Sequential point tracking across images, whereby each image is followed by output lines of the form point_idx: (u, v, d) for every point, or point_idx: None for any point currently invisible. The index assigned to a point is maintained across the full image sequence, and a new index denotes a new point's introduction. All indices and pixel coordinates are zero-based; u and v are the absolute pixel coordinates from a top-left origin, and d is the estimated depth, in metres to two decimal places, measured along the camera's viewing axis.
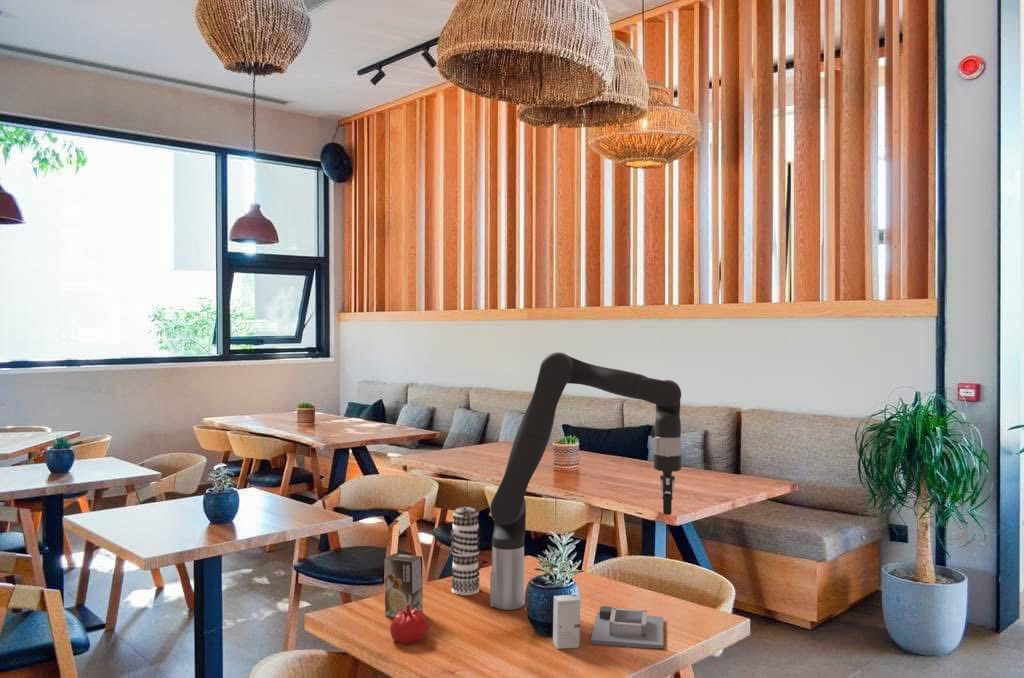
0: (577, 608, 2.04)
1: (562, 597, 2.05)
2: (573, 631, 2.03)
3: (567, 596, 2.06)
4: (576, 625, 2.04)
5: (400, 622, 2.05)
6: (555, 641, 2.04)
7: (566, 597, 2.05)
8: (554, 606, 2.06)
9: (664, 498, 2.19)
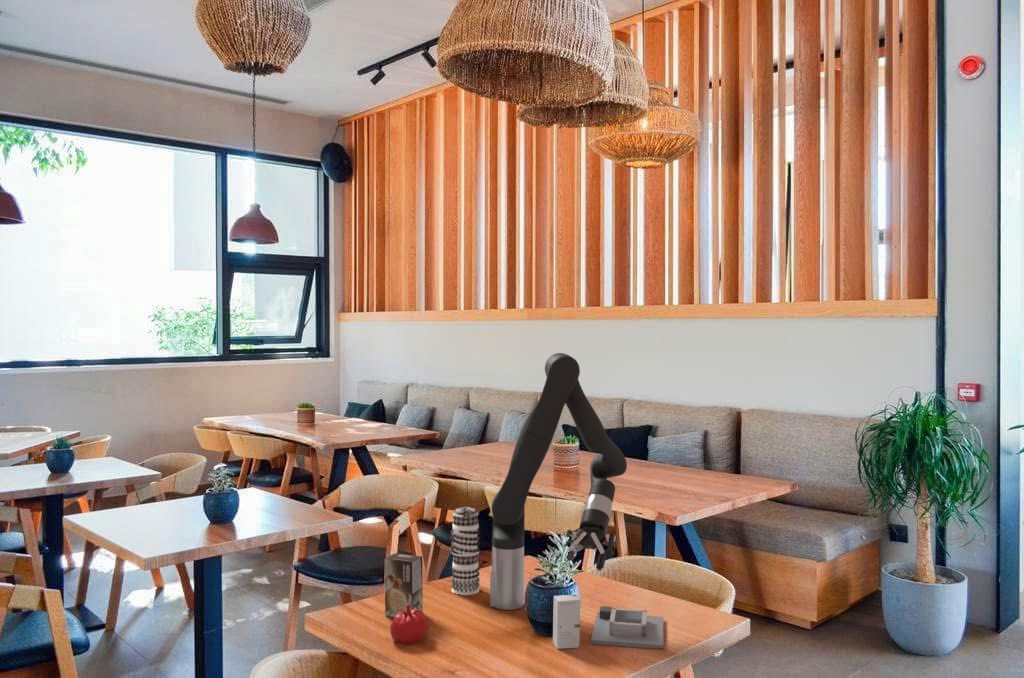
0: (577, 608, 2.04)
1: (562, 597, 2.05)
2: (573, 631, 2.03)
3: (567, 596, 2.06)
4: (576, 625, 2.04)
5: (400, 622, 2.05)
6: (555, 641, 2.04)
7: (566, 597, 2.05)
8: (554, 606, 2.06)
9: (611, 551, 2.16)
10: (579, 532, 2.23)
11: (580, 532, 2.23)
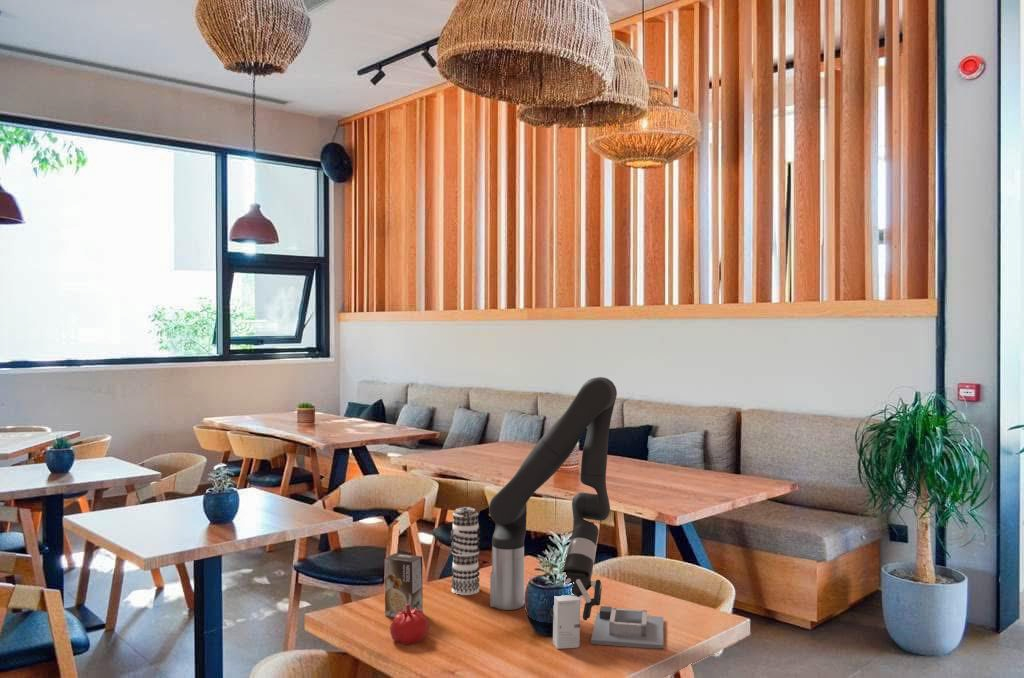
0: (577, 608, 2.04)
1: (562, 597, 2.05)
2: (573, 631, 2.03)
3: (567, 596, 2.06)
4: (576, 625, 2.04)
5: (400, 622, 2.05)
6: (555, 641, 2.04)
7: (566, 597, 2.05)
8: (554, 606, 2.06)
9: (598, 600, 2.05)
10: None
11: None
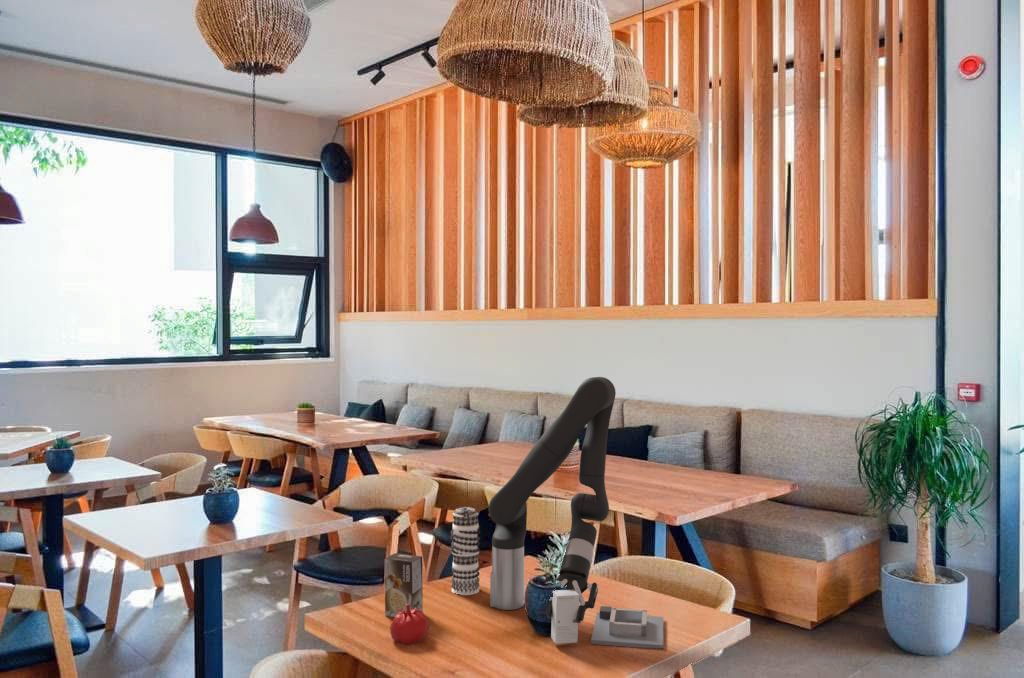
0: (576, 603, 2.04)
1: (561, 592, 2.05)
2: (571, 626, 2.04)
3: (566, 591, 2.06)
4: (575, 620, 2.04)
5: (400, 622, 2.05)
6: (553, 636, 2.04)
7: (565, 592, 2.05)
8: (553, 601, 2.06)
9: (592, 603, 2.04)
10: (559, 579, 2.11)
11: (560, 579, 2.11)
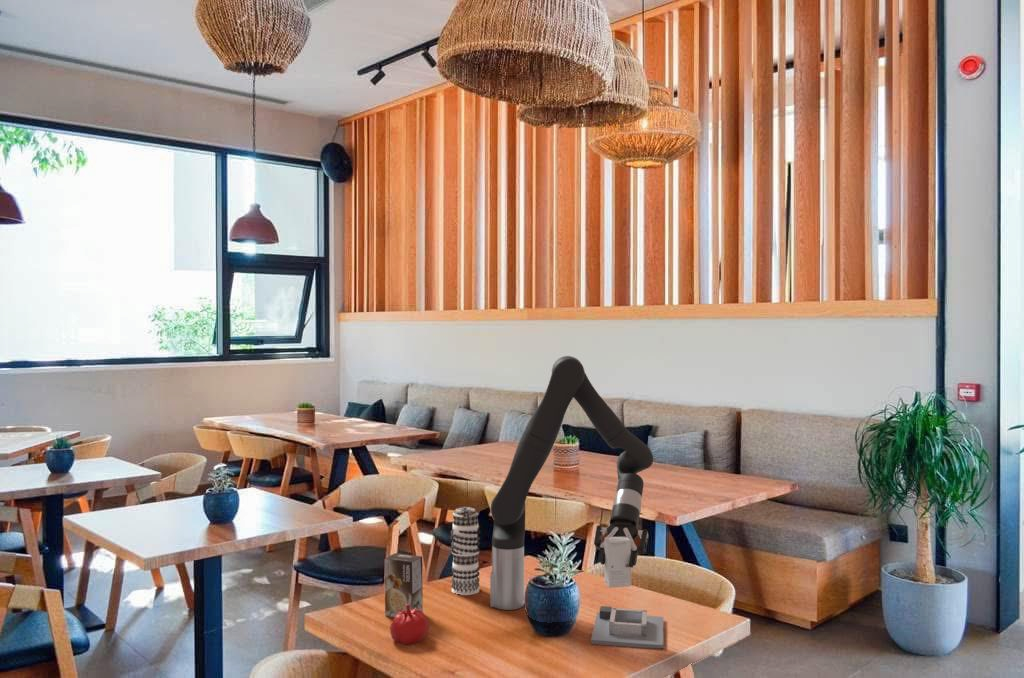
0: (628, 549, 2.10)
1: (613, 538, 2.12)
2: (624, 570, 2.10)
3: (617, 537, 2.13)
4: (627, 565, 2.10)
5: (400, 622, 2.05)
6: (607, 581, 2.11)
7: (617, 538, 2.11)
8: (605, 547, 2.12)
9: (643, 548, 2.11)
10: (610, 527, 2.17)
11: (611, 527, 2.17)
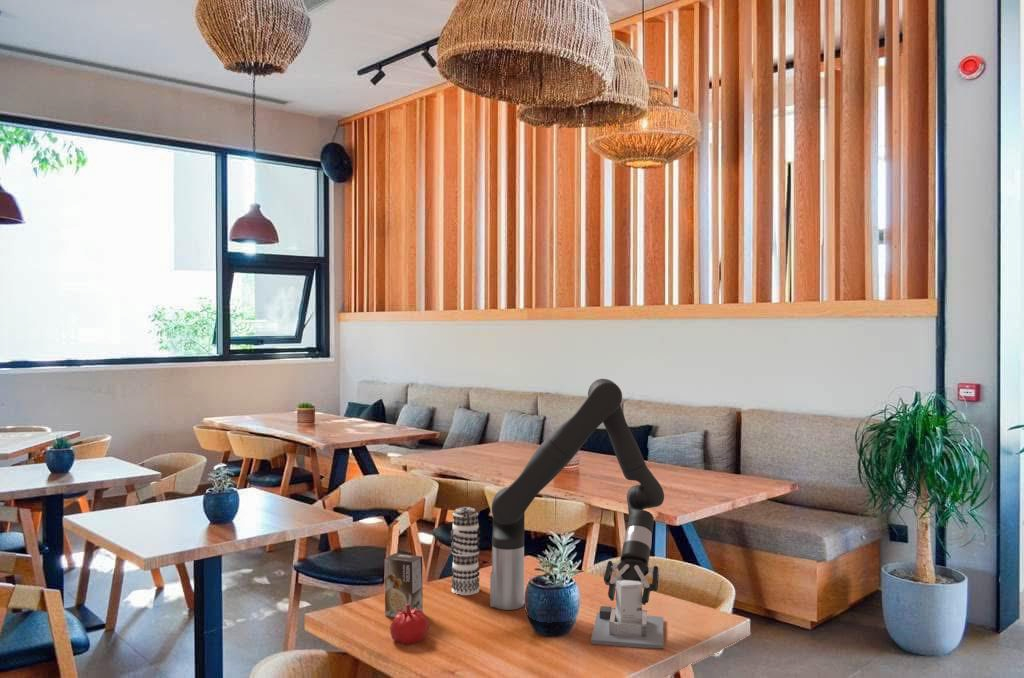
0: (639, 592, 2.13)
1: (625, 582, 2.14)
2: (635, 614, 2.12)
3: (629, 581, 2.15)
4: (639, 609, 2.13)
5: (400, 622, 2.05)
6: None
7: (629, 582, 2.14)
8: (617, 590, 2.15)
9: (656, 585, 2.13)
10: (620, 564, 2.20)
11: (622, 564, 2.20)
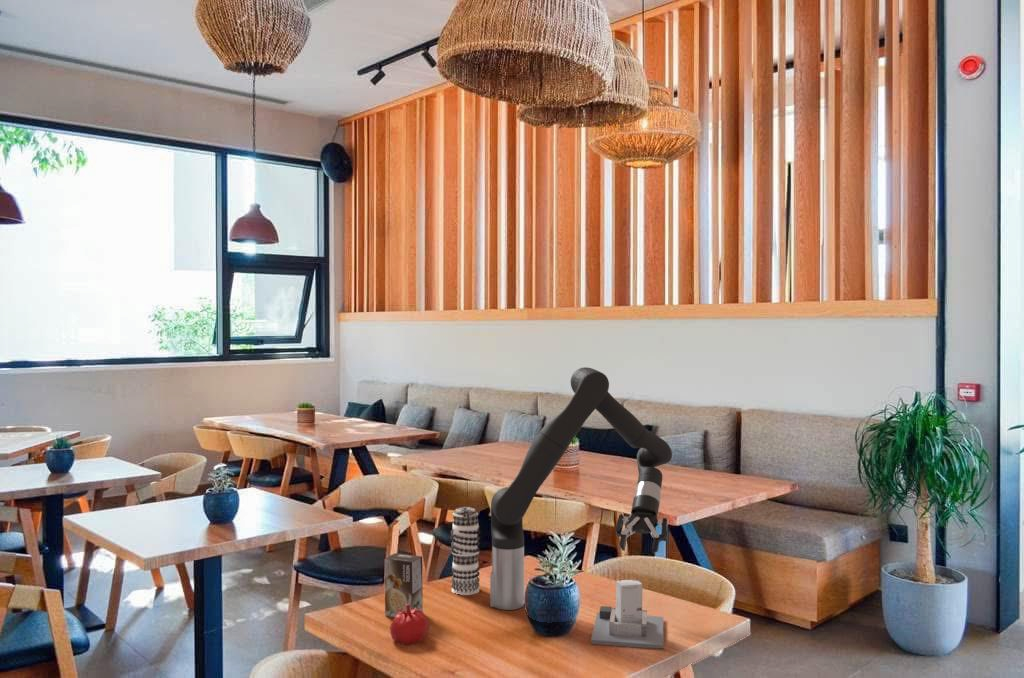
0: (639, 592, 2.13)
1: (625, 582, 2.14)
2: (635, 614, 2.12)
3: (629, 581, 2.15)
4: (639, 609, 2.13)
5: (400, 622, 2.05)
6: None
7: (629, 582, 2.14)
8: (617, 590, 2.15)
9: (665, 536, 2.25)
10: (631, 517, 2.31)
11: (632, 517, 2.31)
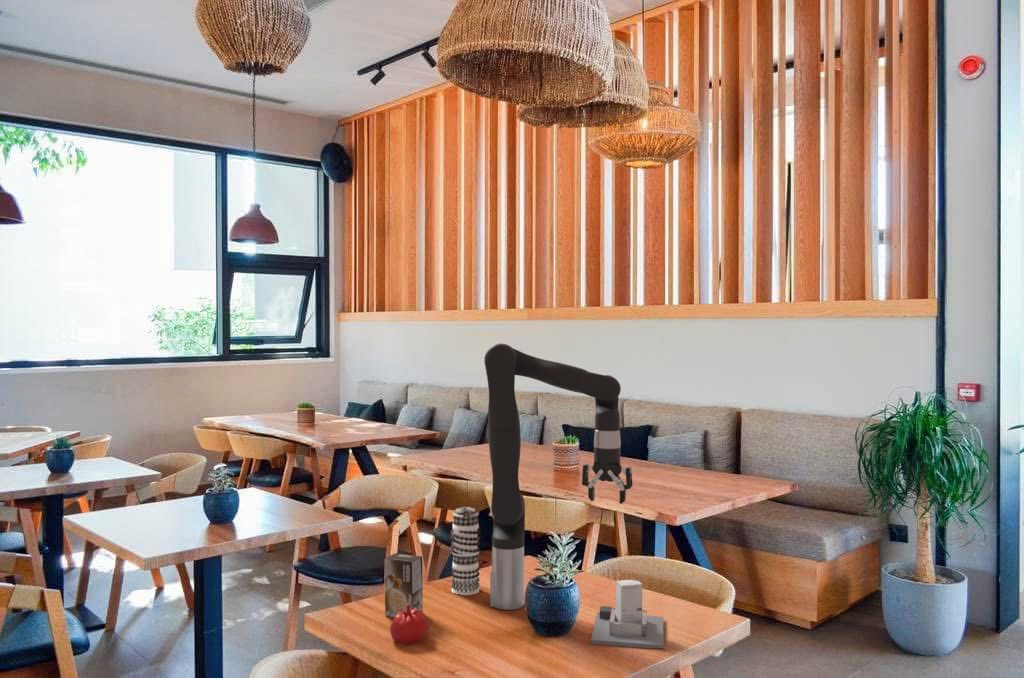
0: (639, 592, 2.13)
1: (625, 582, 2.14)
2: (635, 614, 2.12)
3: (629, 581, 2.15)
4: (639, 609, 2.13)
5: (400, 622, 2.05)
6: None
7: (629, 582, 2.14)
8: (617, 590, 2.15)
9: (630, 487, 2.29)
10: (595, 467, 2.33)
11: (596, 467, 2.33)
